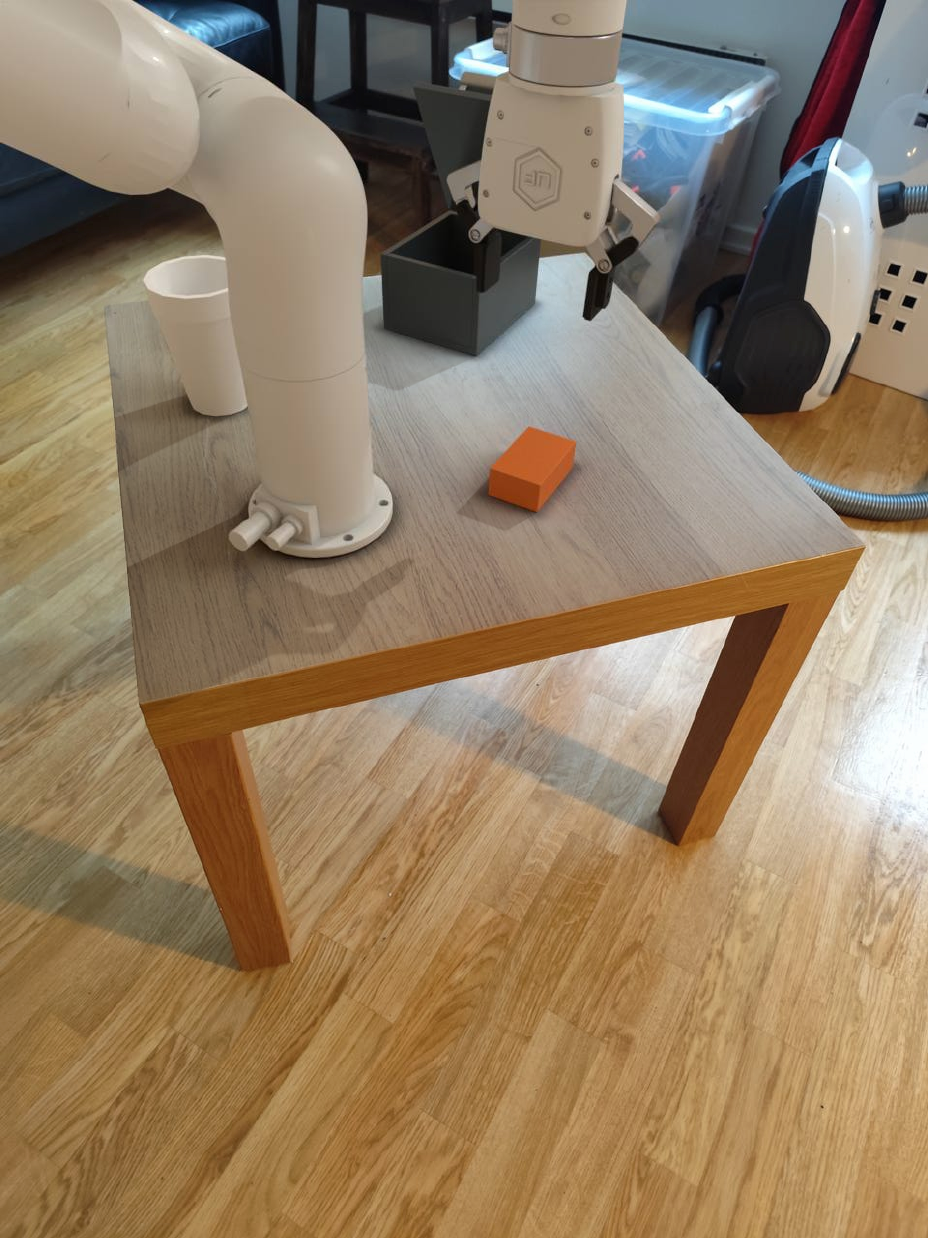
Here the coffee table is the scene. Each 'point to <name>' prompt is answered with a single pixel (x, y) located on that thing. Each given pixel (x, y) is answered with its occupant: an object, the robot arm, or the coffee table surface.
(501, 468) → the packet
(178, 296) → the foam cup
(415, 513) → the coffee table surface
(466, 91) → the lid
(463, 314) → the bin
